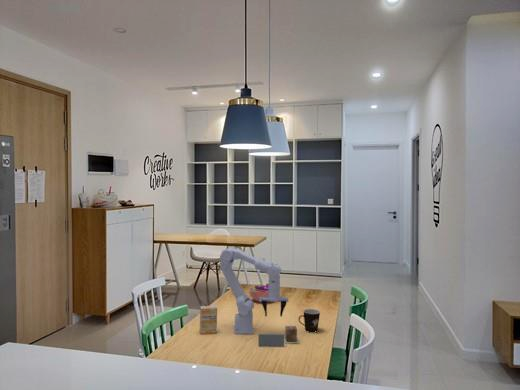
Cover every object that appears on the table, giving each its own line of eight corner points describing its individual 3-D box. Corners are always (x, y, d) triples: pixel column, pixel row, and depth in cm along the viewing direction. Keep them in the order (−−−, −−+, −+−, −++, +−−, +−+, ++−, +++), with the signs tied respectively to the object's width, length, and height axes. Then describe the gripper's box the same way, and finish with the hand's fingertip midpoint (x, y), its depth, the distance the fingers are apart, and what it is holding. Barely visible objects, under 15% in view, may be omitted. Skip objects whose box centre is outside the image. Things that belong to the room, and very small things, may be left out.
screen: (258, 346, 184) (258, 334, 184) (258, 345, 185) (258, 333, 185) (284, 346, 184) (284, 334, 184) (283, 345, 185) (284, 333, 185)
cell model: (244, 299, 264) (244, 282, 264) (271, 296, 272) (271, 280, 272) (254, 306, 249) (255, 288, 249) (282, 303, 257) (283, 285, 257)
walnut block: (286, 341, 188) (286, 329, 188) (285, 338, 193) (285, 325, 193) (296, 342, 188) (297, 329, 188) (295, 338, 193) (295, 325, 193)
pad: (284, 343, 187) (284, 342, 187) (283, 338, 194) (283, 337, 194) (299, 344, 188) (299, 342, 188) (297, 338, 195) (297, 337, 195)
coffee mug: (317, 327, 211) (318, 309, 211) (321, 333, 202) (321, 314, 202) (296, 327, 210) (296, 308, 210) (298, 333, 202) (298, 313, 202)
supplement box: (200, 334, 197) (201, 308, 197) (199, 331, 202) (200, 305, 202) (216, 333, 199) (217, 307, 199) (215, 330, 204) (216, 305, 204)
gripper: (260, 290, 195) (259, 318, 195) (289, 291, 196) (288, 318, 196) (259, 287, 202) (259, 313, 202) (287, 287, 203) (287, 314, 203)
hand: (273, 315), depth 200 cm, fingers open, 7 cm apart
